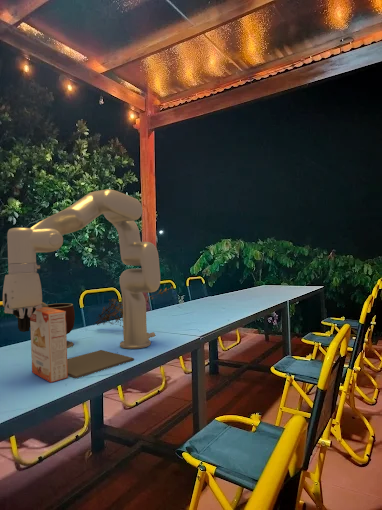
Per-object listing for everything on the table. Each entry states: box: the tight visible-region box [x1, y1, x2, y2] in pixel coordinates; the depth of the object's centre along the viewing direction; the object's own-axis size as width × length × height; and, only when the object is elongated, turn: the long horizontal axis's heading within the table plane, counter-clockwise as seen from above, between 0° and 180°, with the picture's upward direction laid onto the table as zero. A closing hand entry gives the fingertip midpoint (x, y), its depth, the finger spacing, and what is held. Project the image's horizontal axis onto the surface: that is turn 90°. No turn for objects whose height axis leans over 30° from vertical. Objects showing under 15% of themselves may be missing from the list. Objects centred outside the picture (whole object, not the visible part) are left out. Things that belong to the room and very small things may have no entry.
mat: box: [67, 349, 135, 379], centre depth 124 cm, size 23×19×1 cm
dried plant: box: [94, 286, 174, 328], centre depth 173 cm, size 30×31×45 cm
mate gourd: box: [41, 301, 76, 349], centre depth 150 cm, size 16×14×20 cm
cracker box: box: [30, 307, 69, 384], centre depth 112 cm, size 14×6×21 cm, turn 45°
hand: (24, 330), depth 107 cm, fingers closed
